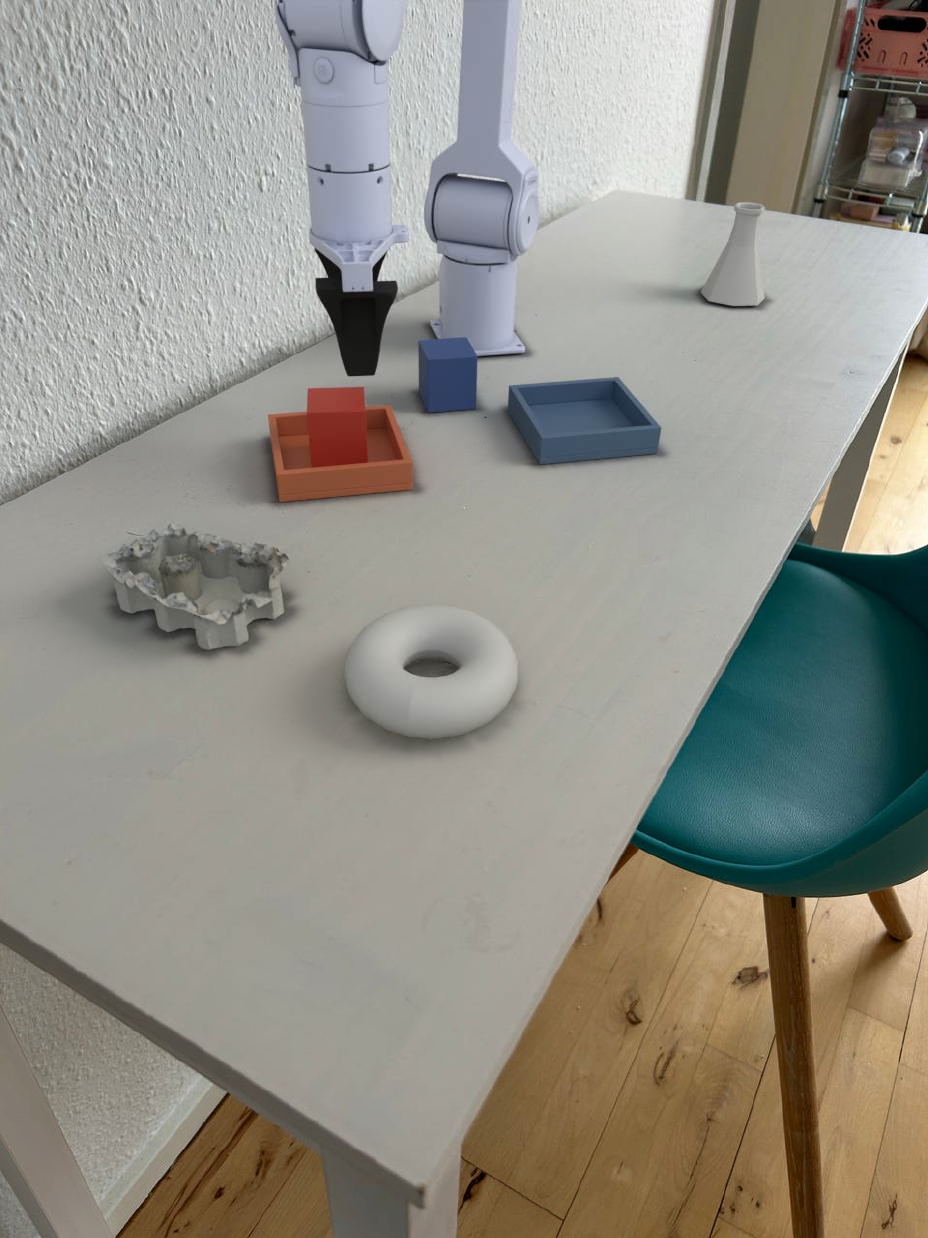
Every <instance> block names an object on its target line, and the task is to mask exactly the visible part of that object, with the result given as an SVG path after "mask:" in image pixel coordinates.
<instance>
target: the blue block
mask: <svg viewBox="0 0 928 1238" xmlns="http://www.w3.org/2000/svg"><path fill="white" fill-rule="evenodd" d="M417 343H418V345H417V346H418V347H417V349H418V350H417V351H418V394H419V395H420V398H421V400H422V402H423V403H422V404H423V405H424V407H425V409H426V411H427V414H428V413H429V414H431V413H433V414H434V413H441V412H442V413H443V412H444V413H445V412H456V411H469V410H470V411H471V410H476V409H477V388H478V387H477V386H478V358H479V356H477V354H476V353H475V351H474V349H473V348H472V346H471V344H470V343H469V341H468V339H467V338H466V337H460V338H445V339H438V338H432V339H431V338H429V339H419V340H418V341H417Z"/></svg>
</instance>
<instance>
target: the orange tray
mask: <svg viewBox="0 0 928 1238" xmlns="http://www.w3.org/2000/svg"><path fill="white" fill-rule="evenodd" d="M365 409H366V429H367V450H368V463H359V464H348V465H337V466H326V467H315V468H312V467H311V456H310V444H309V433H308V422H307V411H296V412H284V413H271V414H267V419H268V428H269V429H268V430H269V436H270V437H269V438H270V444H271V451H272V459H273V466H274V472H275V480H276V487H277V493H278V500H279V503H285V502H297V501H307V500H316V499H318V500H319V499H327V498H328V499H329V498H338V497H339V498H340V497H348V496H356V495H357V496H359V495H370V494H378V493H391V492H401V491H410V490H413V489H414V481H413V480H414V478H413V476H414V475H413V474H414V473H413V472H414V470H413V469H414V468H413V460H412V458H411V455H410V452H409V450H408V447H407V444H406V442H405V439H404V437H403V434H402V431H401V429H400V426H399V423H398V420H397V419H396V415H395V413H394V411H393V407H392V405H391V404H385V405H372V406H371V405H370V406H365Z"/></svg>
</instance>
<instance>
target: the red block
mask: <svg viewBox="0 0 928 1238" xmlns="http://www.w3.org/2000/svg"><path fill="white" fill-rule="evenodd" d="M365 407H366V396H365V387H364V386H345V387H343V386H342V387H340V386H339V387H309V388H307V397H306V412H307V422H308V433H309V444H310V456H311V467H312V468H315V467H326V466H337V465H348V464H359V463H368V450H367V429H366V409H365Z"/></svg>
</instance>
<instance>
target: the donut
mask: <svg viewBox="0 0 928 1238" xmlns="http://www.w3.org/2000/svg"><path fill="white" fill-rule="evenodd" d="M424 661H441V662H444V663H445V662H446V663H448V664H452V665H453V666H455V667H457V668H458V669H457V670H456V671H455V672H453V673H450V674H448V675H442V676H436V677H431V676H430V677H429V676H419V675H415V674H412V673H411V672H408V671H407V670H405V668H406V667H408V666H409V665H411V664H414V663H417V662H424ZM518 674H519V662H518V657H517V654H516V652H515V649H514V647H513V645H512V643H511V641H510V639H509V637H508V636H507V635H506V634H505V633H504V632H503V631H502V630H501V629H500V628H499V627H498V626H496V625H495V623H494V622H493V621H490V620H489V619H486V618H485V617H484V616H481V615H479V614H477V613H475V612H473V611H471V610H469V609H464V608H461V607H457V606H453V605H448V604H447V605H446V604H429V603H425V604H419V605H418V604H417V605H411V606H404V607H401V608H399V609H395V610H392V611H389V612H387V613H384V614H382V615H380V616H379V617H377V618H376V619H375V620H373V621H372V622H370V623H368V624H367V625H365V626H364V627H363V628H362V630H361V631H360V632H359V633H358V634H357V636H356V637H355V638H354V639H353V640H352V642H351V643H350V645H349V647H348V650H347V653H346V657H345V661H344V665H343V675H344V680H345V685H346V689H347V693H348V697H349V698H350V699H351V700H352V702H353V703H354V704H355V705H356V707H357V708H358V710H359V711H360V712H361V713H362V714H363V715H364V717H365V718H367V719H369V720H370V721H372V722H373V723H375V724H376V725H377V726H379V727H381V728H383V729H384V730H387V731H390V732H393V733H396V734H399V735H402V736H406V737H409V738H419V739H421V738H422V739H435V740H438V739H442V738H443V739H444V738H450V737H455V736H461V735H462V736H463V735H465V734H468V733H470V732H472V731H475V730H477V729H479V728H481V727H484V726H486V725H487V724H488V723H490V722H491V721H492V720H493V719H494V718H496V717H497V716H498V715H500V713H502V712H503V711H504V710H505V709H506V708H507V706H508V704H509V702H510V700H511V699H512V697H513V695H514V693H515V691H516V689H517V685H518V680H519V679H518V678H519V675H518Z"/></svg>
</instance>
